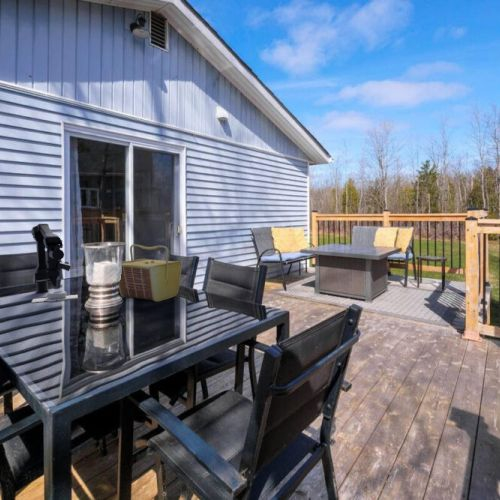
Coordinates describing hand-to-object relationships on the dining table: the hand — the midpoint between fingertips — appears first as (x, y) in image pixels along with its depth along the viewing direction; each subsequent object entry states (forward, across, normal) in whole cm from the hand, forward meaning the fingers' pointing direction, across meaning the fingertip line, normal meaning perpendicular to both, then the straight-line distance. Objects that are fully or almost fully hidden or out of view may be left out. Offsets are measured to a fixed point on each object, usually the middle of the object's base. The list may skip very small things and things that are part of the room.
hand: (54, 286), depth 188 cm
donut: (+5, +7, 0) cm, 8 cm away
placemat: (+8, +1, 0) cm, 8 cm away
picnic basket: (+8, -18, -48) cm, 52 cm away
